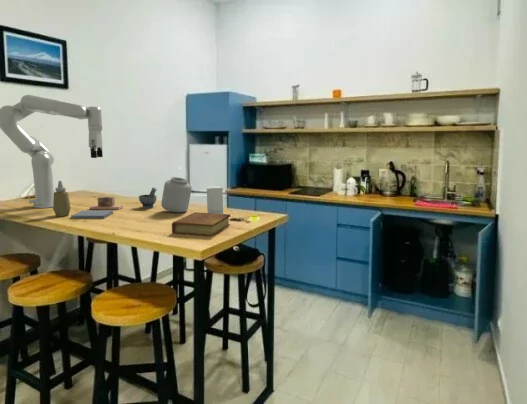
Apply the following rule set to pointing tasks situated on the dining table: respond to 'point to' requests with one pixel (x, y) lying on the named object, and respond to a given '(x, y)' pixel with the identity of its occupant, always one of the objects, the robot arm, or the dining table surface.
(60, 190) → the squeeze bottle
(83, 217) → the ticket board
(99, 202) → the stub
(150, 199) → the mortar and pestle
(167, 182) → the jar
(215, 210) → the skincare box
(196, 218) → the diary
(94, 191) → the dining table surface
